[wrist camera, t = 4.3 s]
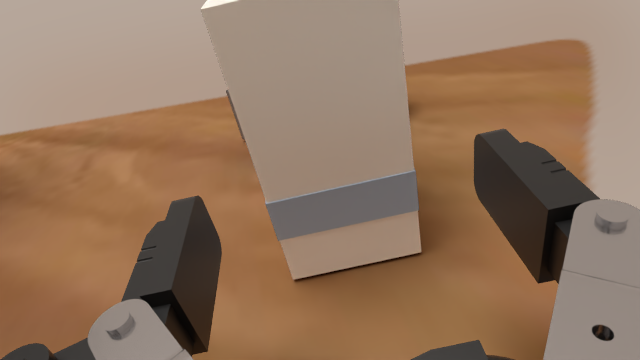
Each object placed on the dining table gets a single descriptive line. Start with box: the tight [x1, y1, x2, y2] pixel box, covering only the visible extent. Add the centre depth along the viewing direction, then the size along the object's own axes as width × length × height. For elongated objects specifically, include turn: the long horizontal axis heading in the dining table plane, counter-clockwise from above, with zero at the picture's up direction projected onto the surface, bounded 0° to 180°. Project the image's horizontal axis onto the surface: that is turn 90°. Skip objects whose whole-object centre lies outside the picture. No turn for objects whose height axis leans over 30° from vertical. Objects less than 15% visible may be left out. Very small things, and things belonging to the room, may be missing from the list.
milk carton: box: [201, 0, 421, 280], centre depth 18 cm, size 6×6×12 cm
